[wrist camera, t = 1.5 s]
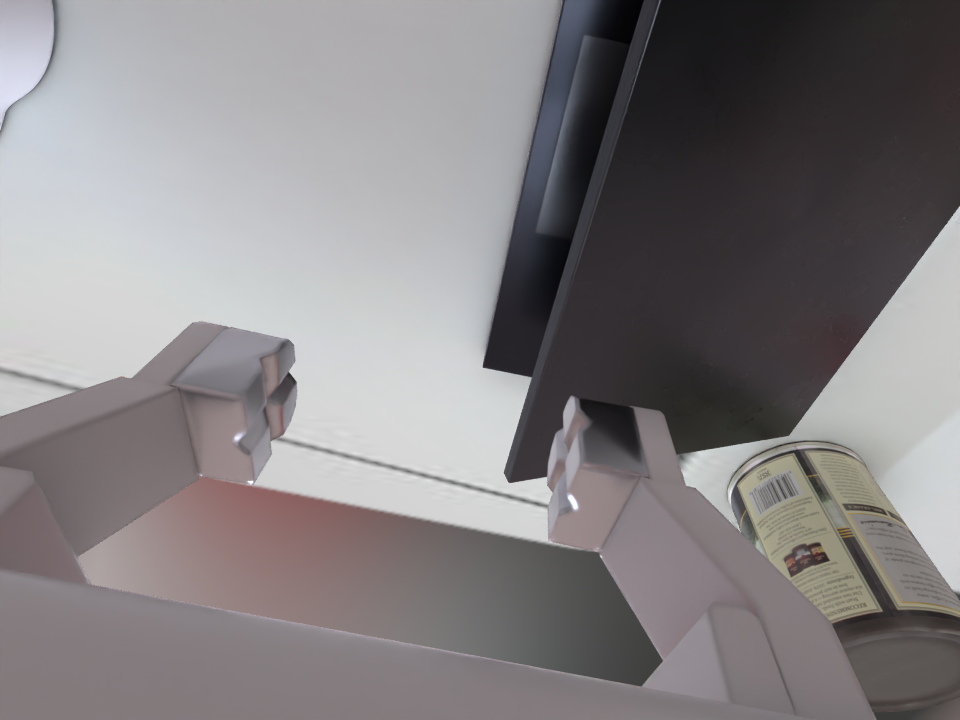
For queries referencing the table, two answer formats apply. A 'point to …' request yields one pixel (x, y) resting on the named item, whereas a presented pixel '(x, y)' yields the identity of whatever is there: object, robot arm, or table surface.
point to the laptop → (558, 172)
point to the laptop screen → (749, 212)
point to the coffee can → (855, 569)
